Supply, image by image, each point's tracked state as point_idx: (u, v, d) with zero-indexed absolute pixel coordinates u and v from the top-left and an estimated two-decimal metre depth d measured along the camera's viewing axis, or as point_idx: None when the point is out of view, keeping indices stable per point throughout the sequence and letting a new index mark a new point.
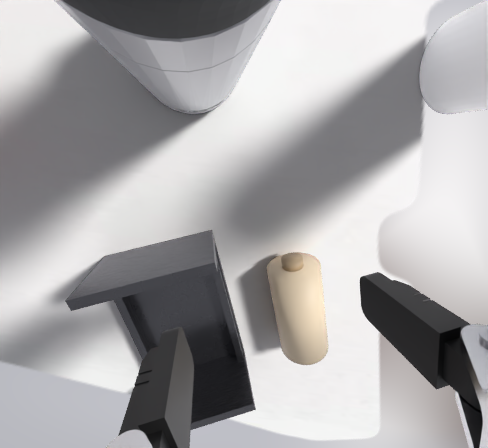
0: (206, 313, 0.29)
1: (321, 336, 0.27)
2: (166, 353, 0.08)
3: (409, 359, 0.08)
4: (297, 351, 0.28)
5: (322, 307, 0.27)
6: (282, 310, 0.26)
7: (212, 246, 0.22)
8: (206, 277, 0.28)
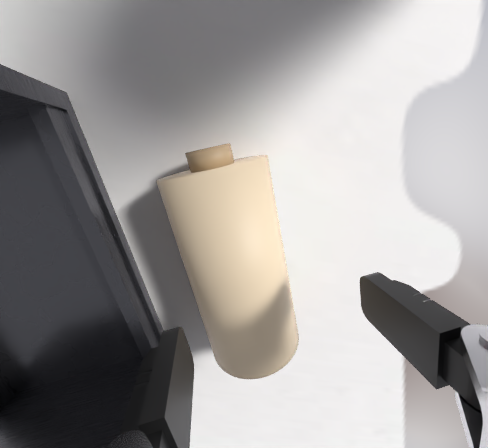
0: (78, 274, 0.15)
1: (261, 329, 0.13)
2: (166, 353, 0.08)
3: (409, 359, 0.08)
4: (214, 344, 0.14)
5: (262, 264, 0.12)
6: (180, 253, 0.13)
7: None
8: (64, 196, 0.14)
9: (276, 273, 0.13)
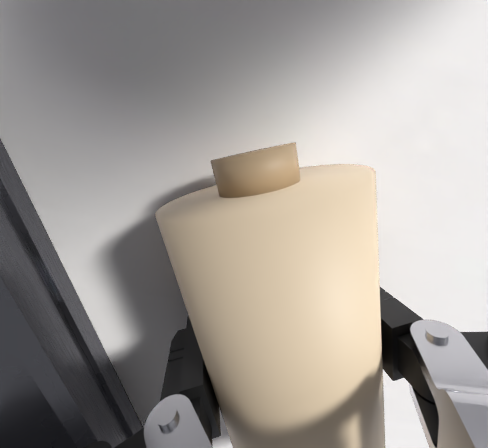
0: None
1: None
2: None
3: None
4: None
5: (379, 354, 0.07)
6: (212, 363, 0.06)
7: None
8: None
9: None
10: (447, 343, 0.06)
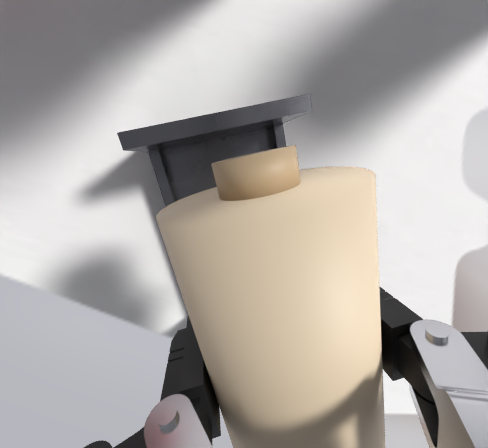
0: None
1: None
2: None
3: None
4: None
5: (379, 356, 0.07)
6: (213, 365, 0.06)
7: None
8: None
9: None
10: (447, 343, 0.06)
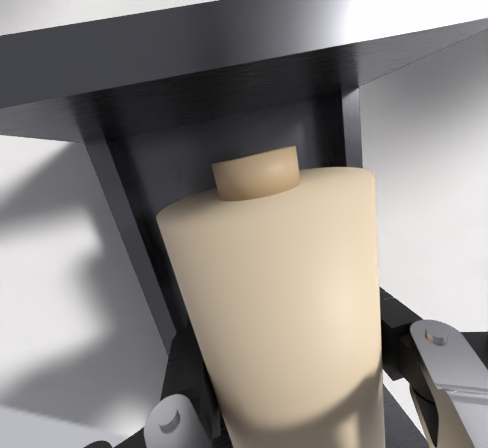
0: None
1: None
2: None
3: None
4: None
5: (379, 356, 0.07)
6: (213, 365, 0.06)
7: None
8: None
9: None
10: (447, 343, 0.06)
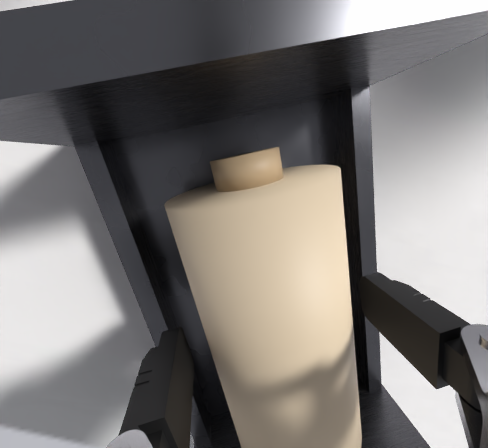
0: None
1: (345, 417, 0.08)
2: (166, 353, 0.08)
3: (409, 359, 0.08)
4: None
5: (347, 321, 0.08)
6: (210, 326, 0.08)
7: None
8: None
9: None
10: None
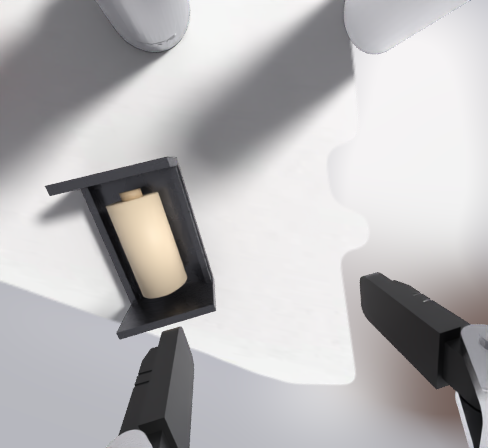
0: (175, 236, 0.33)
1: (164, 268, 0.28)
2: (166, 353, 0.08)
3: (409, 359, 0.08)
4: (142, 283, 0.29)
5: (160, 238, 0.28)
6: (120, 239, 0.27)
7: (170, 157, 0.27)
8: (173, 200, 0.32)
9: (168, 242, 0.29)
10: None
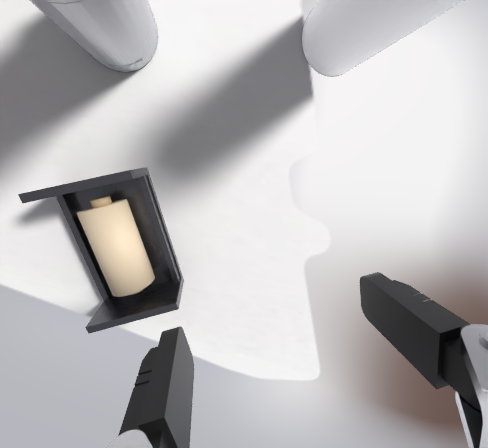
0: (146, 239, 0.36)
1: (129, 270, 0.31)
2: (166, 353, 0.08)
3: (409, 359, 0.08)
4: (110, 283, 0.31)
5: (126, 242, 0.30)
6: (89, 242, 0.30)
7: (137, 169, 0.30)
8: (143, 207, 0.34)
9: (134, 246, 0.31)
10: None
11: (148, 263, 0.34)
